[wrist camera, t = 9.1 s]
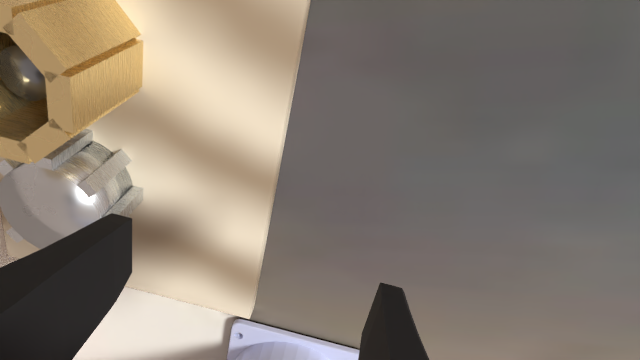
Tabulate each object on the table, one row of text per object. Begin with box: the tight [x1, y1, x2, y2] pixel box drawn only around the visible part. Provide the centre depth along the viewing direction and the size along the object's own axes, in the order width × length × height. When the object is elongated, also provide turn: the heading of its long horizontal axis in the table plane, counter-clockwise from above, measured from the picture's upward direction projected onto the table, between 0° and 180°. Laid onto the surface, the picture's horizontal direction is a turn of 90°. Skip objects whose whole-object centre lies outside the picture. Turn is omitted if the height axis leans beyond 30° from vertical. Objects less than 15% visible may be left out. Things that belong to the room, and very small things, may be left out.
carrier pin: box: [0, 44, 47, 101], centre depth 19 cm, size 2×2×4 cm
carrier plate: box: [0, 0, 311, 319], centre depth 22 cm, size 20×14×1 cm
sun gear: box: [0, 129, 143, 249], centre depth 22 cm, size 6×6×3 cm
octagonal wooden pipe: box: [0, 0, 143, 164], centre depth 18 cm, size 6×6×5 cm
